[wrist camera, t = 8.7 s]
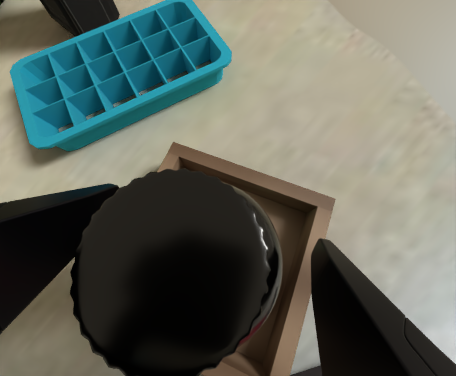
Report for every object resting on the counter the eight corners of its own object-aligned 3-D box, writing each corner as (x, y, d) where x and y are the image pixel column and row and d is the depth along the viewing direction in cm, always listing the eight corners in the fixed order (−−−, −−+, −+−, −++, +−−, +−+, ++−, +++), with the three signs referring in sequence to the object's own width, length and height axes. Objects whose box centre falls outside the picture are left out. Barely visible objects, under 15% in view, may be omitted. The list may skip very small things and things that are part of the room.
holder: (270, 380, 14) (279, 415, 11) (111, 300, 16) (82, 311, 13) (318, 208, 18) (335, 198, 15) (183, 159, 20) (173, 142, 17)
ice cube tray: (237, 83, 23) (237, 58, 20) (60, 167, 21) (32, 153, 18) (191, 20, 26) (185, -9, 24) (34, 87, 24) (7, 64, 21)
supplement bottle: (249, 206, 17) (271, 111, 6) (271, 294, 15) (370, 409, 4) (168, 223, 17) (35, 161, 6) (179, 315, 15) (3, 498, 4)
